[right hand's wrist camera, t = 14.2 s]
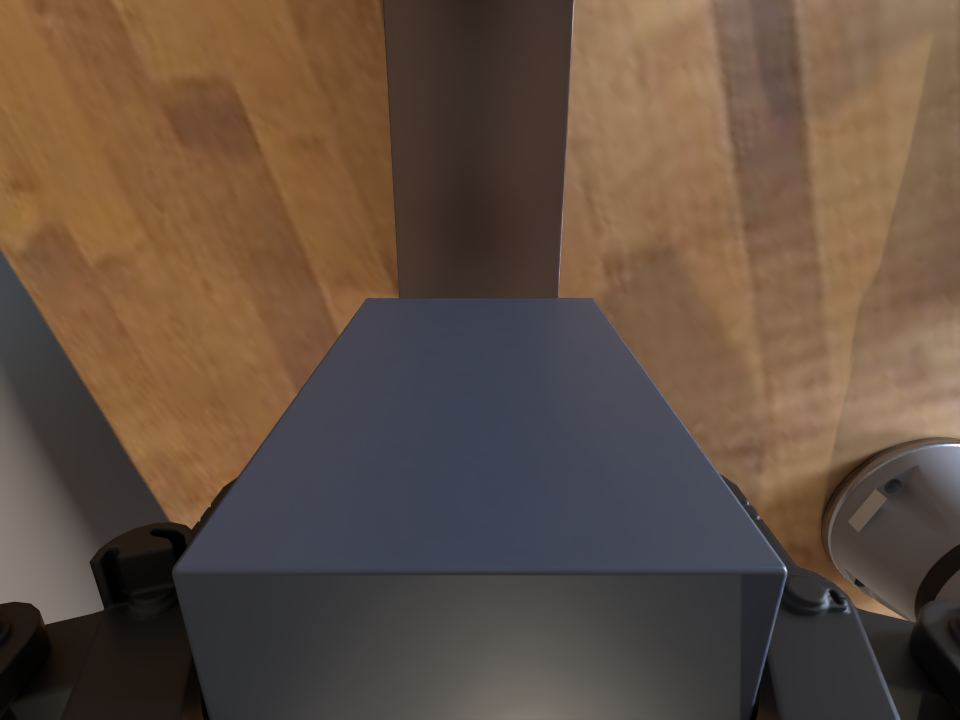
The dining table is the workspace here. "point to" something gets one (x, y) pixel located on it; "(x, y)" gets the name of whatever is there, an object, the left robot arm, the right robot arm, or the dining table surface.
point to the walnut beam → (478, 144)
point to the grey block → (479, 536)
